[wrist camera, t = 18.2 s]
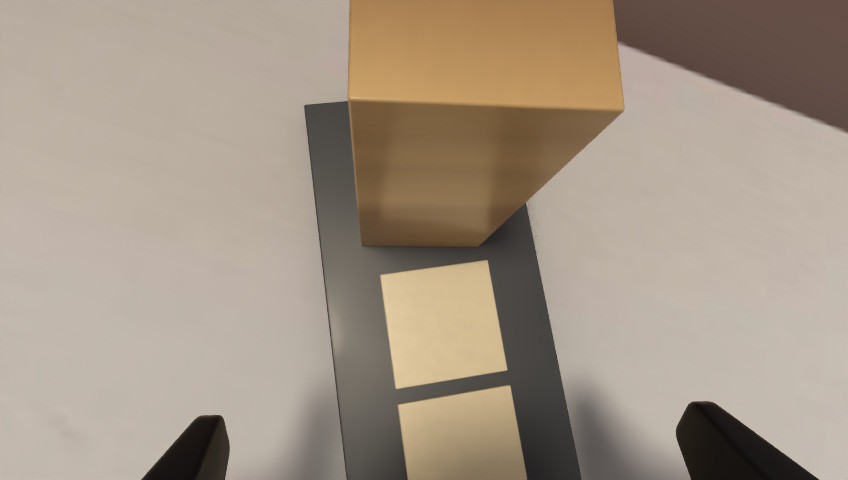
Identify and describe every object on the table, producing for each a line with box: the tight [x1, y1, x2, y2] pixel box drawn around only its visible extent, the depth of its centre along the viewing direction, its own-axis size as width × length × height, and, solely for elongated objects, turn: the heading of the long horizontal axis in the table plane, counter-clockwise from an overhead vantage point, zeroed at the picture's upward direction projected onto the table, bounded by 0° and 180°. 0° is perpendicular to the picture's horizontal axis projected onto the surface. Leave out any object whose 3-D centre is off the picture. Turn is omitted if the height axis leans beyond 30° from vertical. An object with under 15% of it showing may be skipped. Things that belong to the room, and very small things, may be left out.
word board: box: [304, 101, 581, 480], centre depth 18 cm, size 16×8×1 cm, turn 9°
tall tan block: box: [348, 0, 624, 247], centre depth 13 cm, size 4×4×11 cm
